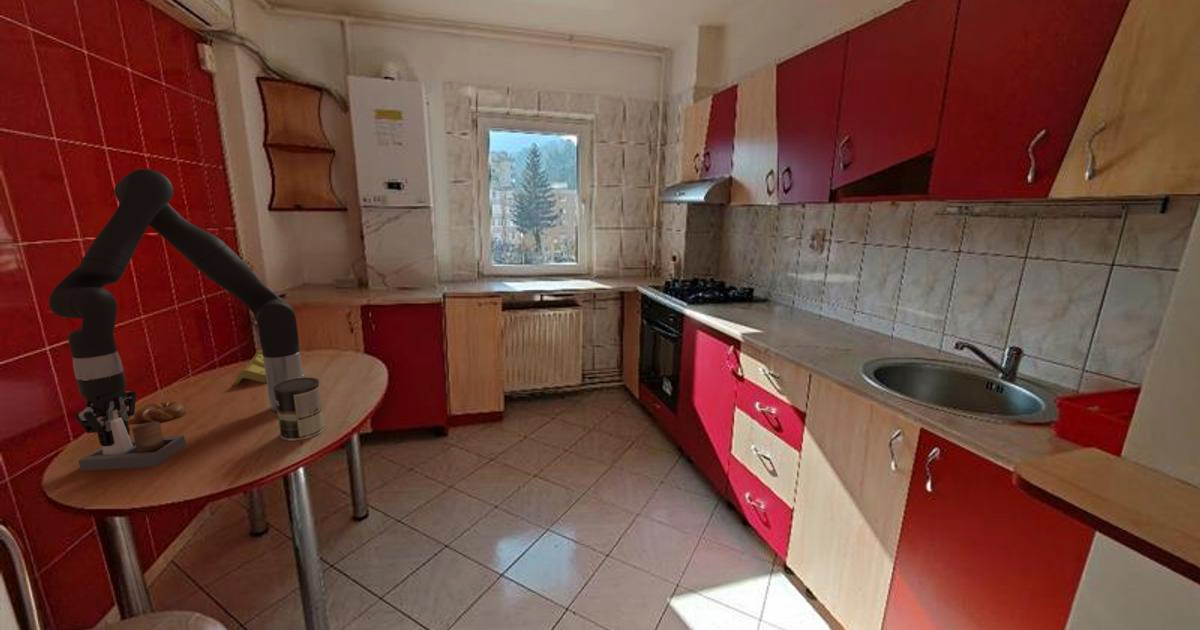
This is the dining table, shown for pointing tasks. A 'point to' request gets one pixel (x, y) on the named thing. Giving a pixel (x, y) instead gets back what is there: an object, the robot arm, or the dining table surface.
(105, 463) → the grey rectangular open block
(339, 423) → the dining table surface
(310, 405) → the coffee can
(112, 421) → the salt shaker
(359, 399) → the dining table surface
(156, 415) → the bread roll
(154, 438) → the fitted dowel
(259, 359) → the plastic component
